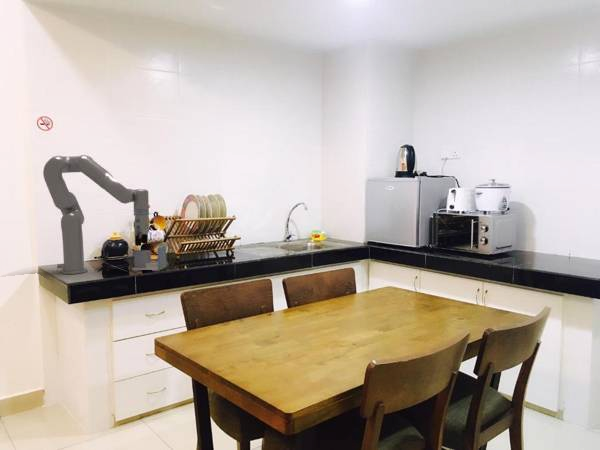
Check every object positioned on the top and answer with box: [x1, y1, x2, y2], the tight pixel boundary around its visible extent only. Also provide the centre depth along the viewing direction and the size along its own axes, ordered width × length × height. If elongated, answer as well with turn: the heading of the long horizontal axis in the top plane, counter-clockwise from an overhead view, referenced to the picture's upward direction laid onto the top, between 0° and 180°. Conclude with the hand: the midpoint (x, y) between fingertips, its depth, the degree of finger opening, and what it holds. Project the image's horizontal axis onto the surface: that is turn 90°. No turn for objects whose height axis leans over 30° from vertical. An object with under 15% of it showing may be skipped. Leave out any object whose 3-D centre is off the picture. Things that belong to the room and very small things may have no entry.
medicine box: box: [133, 249, 152, 268], centre depth 266 cm, size 8×4×9 cm, turn 89°
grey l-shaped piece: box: [131, 244, 168, 272], centre depth 266 cm, size 15×11×12 cm
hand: (141, 244), depth 266 cm, fingers open, 9 cm apart
